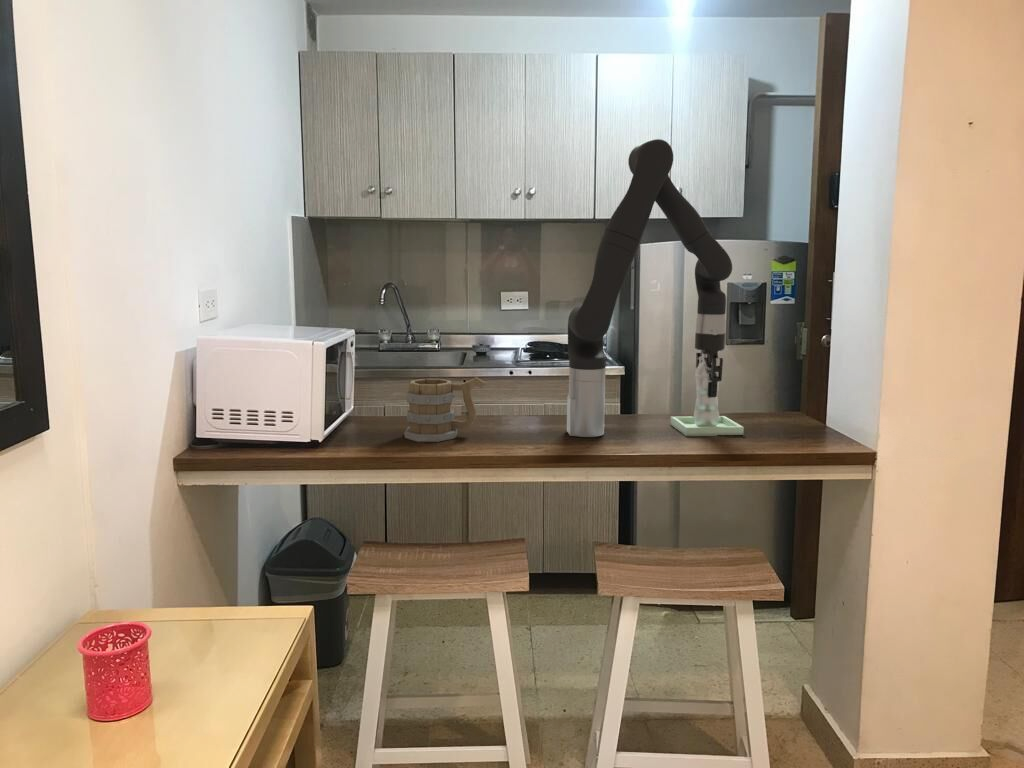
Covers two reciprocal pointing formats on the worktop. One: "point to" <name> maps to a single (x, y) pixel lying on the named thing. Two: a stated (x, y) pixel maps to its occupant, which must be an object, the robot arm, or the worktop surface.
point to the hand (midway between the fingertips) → (707, 394)
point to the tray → (690, 429)
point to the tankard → (437, 409)
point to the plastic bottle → (705, 399)
